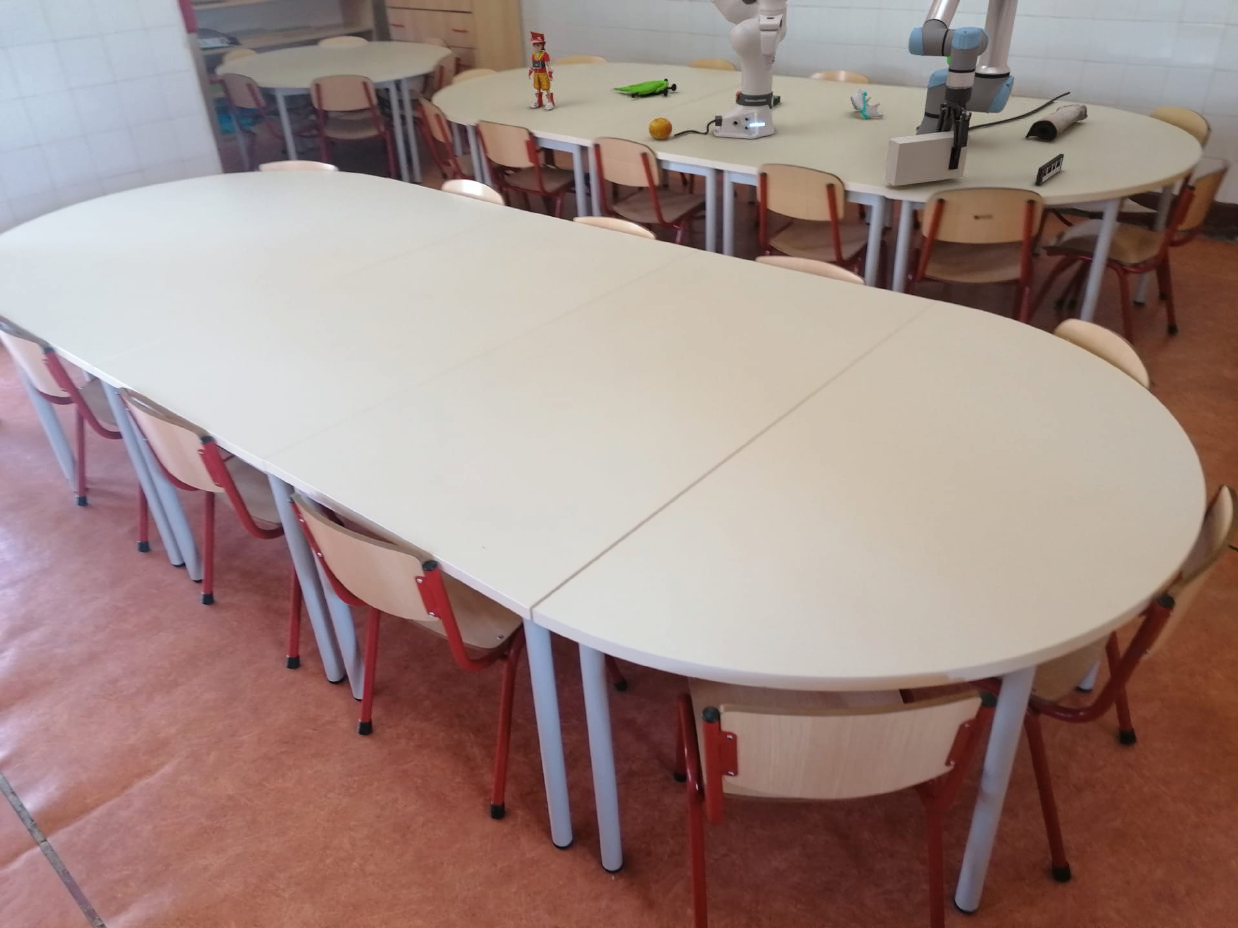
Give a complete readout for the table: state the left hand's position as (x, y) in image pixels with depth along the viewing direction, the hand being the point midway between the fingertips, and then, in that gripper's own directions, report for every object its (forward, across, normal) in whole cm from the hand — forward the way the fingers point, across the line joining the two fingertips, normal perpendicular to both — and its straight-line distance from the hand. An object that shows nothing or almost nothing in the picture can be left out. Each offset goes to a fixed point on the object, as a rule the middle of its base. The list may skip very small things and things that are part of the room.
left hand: (770, 66), depth 289 cm
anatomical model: (+30, -60, +31) cm, 74 cm away
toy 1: (+30, -69, -102) cm, 127 cm away
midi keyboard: (+30, +14, +88) cm, 93 cm away
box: (+28, +22, +50) cm, 62 cm away
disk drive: (+30, -73, -10) cm, 79 cm away
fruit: (+30, -24, -42) cm, 56 cm away
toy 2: (+30, -97, -66) cm, 121 cm away
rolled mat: (+30, -40, +97) cm, 109 cm away
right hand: (+25, +19, +57) cm, 65 cm away
